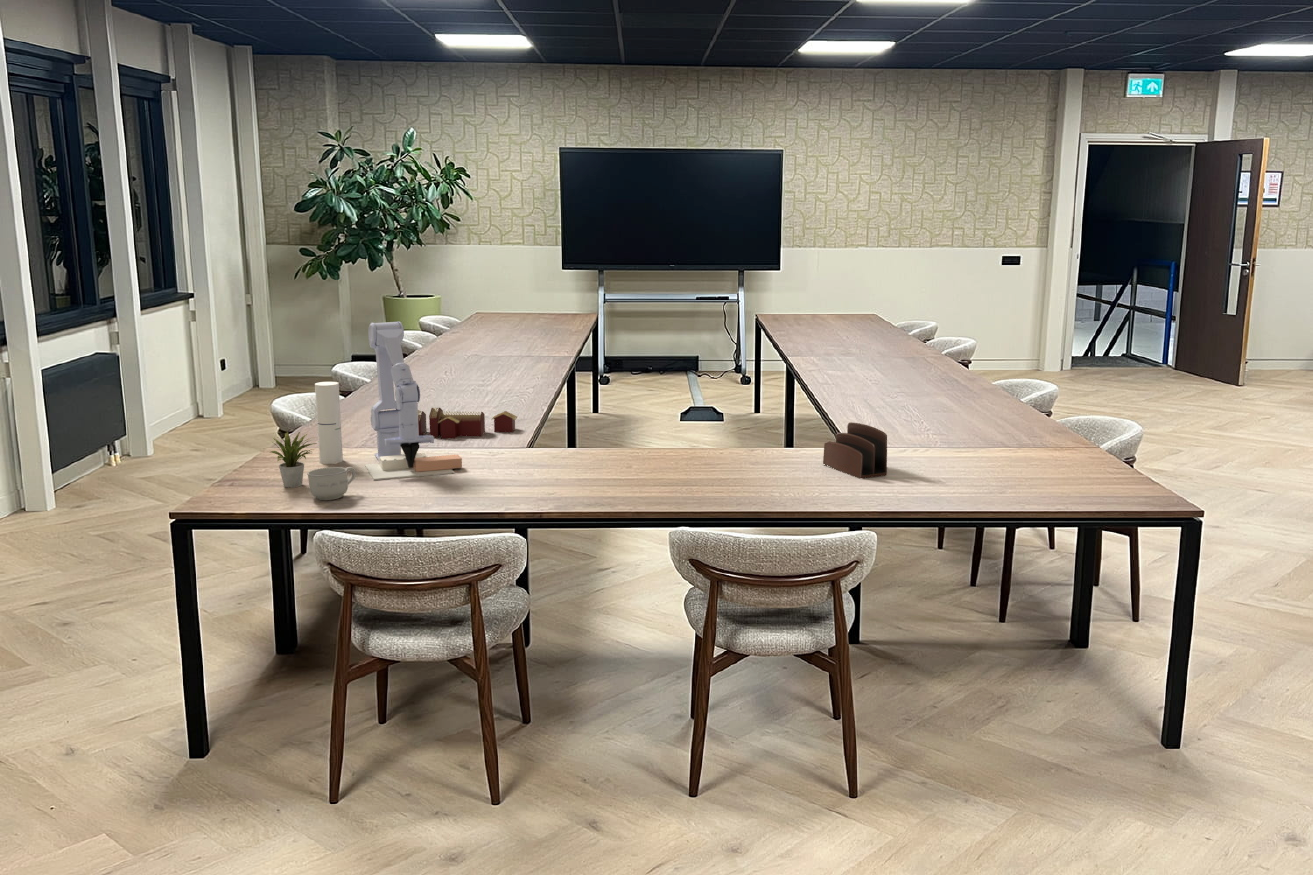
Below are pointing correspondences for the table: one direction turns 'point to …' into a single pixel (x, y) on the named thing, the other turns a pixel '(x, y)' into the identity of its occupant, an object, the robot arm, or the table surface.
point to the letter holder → (858, 451)
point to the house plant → (292, 460)
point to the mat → (401, 472)
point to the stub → (437, 463)
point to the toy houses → (462, 423)
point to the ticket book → (396, 461)
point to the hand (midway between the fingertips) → (410, 467)
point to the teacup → (329, 482)
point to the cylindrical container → (329, 422)
